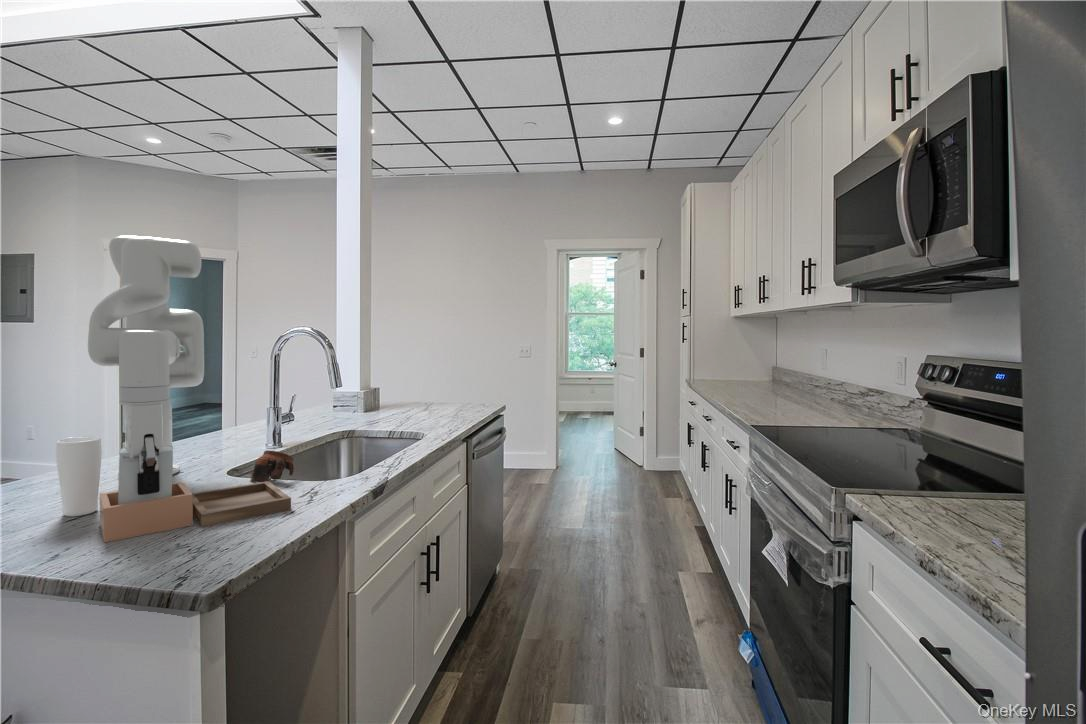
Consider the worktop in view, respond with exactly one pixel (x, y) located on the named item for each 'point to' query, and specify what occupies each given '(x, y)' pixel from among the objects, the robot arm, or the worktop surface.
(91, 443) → the drinking glass
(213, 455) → the worktop surface
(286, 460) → the brown irregular lump
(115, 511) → the open rectangular tray
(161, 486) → the skincare box
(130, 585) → the worktop surface
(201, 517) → the walnut tray
